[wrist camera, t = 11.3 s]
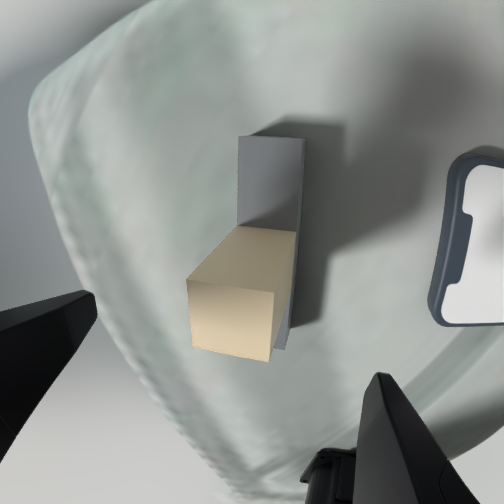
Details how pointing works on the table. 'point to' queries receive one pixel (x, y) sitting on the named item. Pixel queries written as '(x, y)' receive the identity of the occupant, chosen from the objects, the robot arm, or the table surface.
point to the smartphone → (471, 246)
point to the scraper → (253, 256)
